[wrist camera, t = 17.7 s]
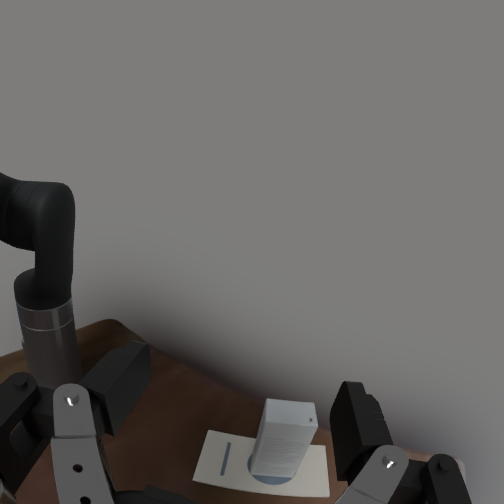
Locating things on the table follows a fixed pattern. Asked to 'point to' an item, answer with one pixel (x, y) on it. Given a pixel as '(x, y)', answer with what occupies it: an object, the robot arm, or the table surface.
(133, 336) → the table surface
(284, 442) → the skincare box
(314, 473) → the paper sheet
